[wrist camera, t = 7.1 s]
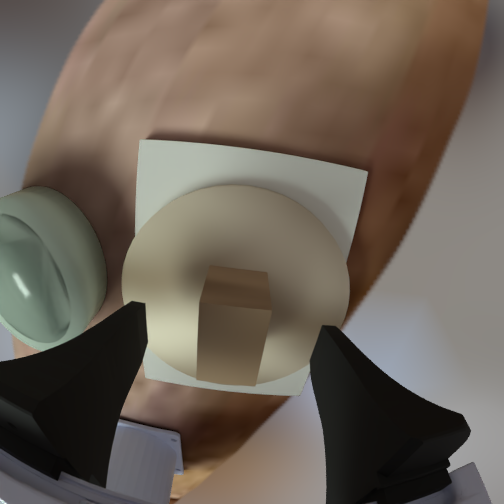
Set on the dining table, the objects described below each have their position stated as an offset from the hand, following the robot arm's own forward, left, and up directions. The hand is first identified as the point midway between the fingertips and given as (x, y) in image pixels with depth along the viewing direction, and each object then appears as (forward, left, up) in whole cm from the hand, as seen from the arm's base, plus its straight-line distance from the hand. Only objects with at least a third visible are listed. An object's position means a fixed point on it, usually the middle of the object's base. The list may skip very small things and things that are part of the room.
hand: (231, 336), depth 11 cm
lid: (0, 0, -3) cm, 3 cm away
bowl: (0, +11, -3) cm, 12 cm away
